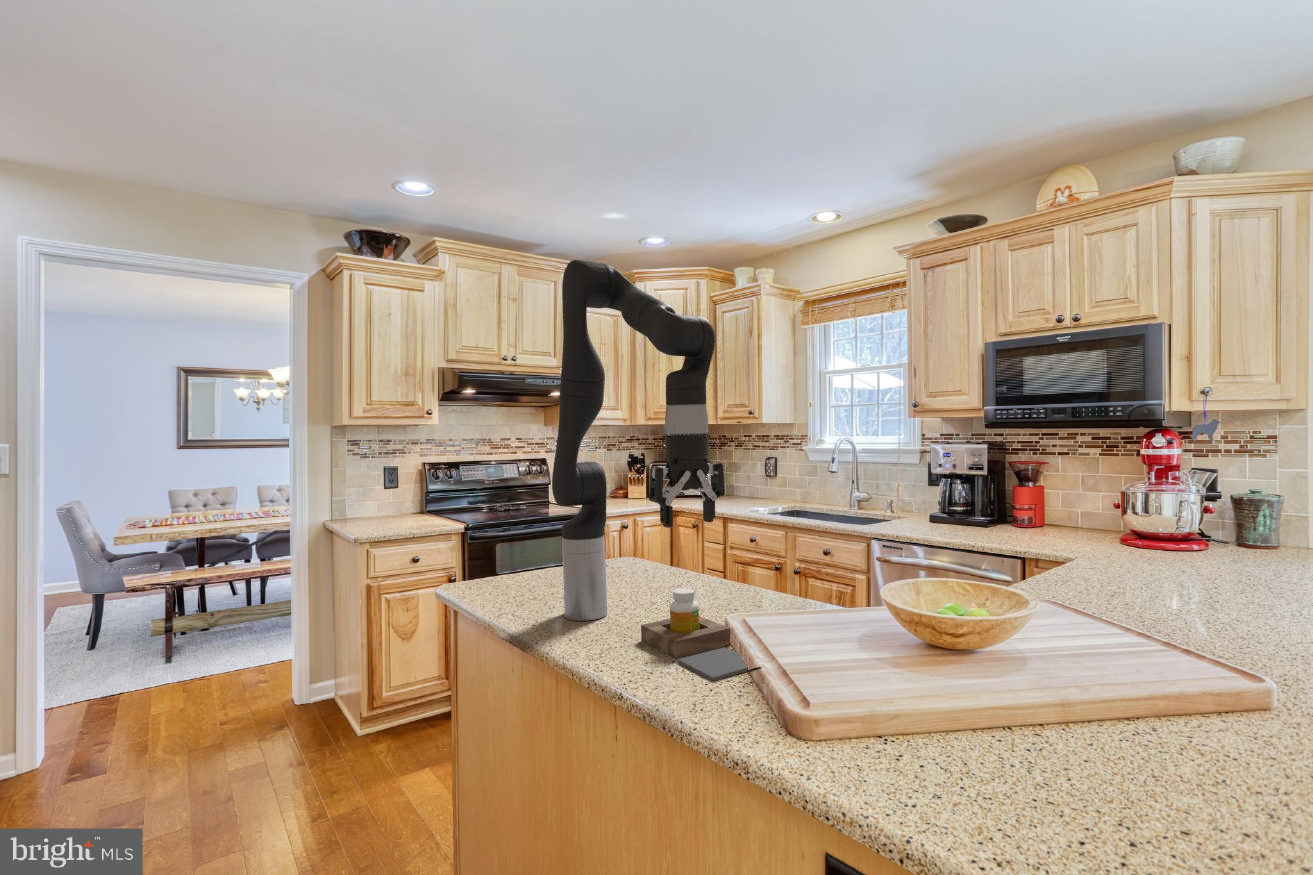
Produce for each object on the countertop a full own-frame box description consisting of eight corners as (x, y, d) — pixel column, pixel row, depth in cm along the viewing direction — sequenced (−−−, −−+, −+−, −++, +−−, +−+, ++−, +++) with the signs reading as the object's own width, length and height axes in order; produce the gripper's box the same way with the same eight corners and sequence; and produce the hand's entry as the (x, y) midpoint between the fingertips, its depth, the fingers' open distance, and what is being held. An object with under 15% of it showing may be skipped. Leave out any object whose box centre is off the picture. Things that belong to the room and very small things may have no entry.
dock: (641, 640, 125) (640, 624, 125) (693, 628, 131) (692, 613, 131) (676, 658, 115) (675, 641, 115) (730, 644, 121) (730, 628, 121)
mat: (678, 662, 112) (677, 659, 112) (724, 650, 118) (724, 647, 118) (713, 681, 104) (713, 677, 104) (761, 666, 109) (761, 663, 109)
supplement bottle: (697, 647, 120) (695, 594, 120) (668, 646, 121) (666, 594, 121) (701, 638, 125) (699, 587, 125) (673, 637, 126) (672, 587, 126)
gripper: (707, 429, 121) (708, 517, 121) (640, 432, 113) (642, 525, 114) (732, 430, 114) (734, 523, 115) (663, 433, 107) (665, 532, 108)
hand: (688, 524), depth 115 cm, fingers open, 8 cm apart
